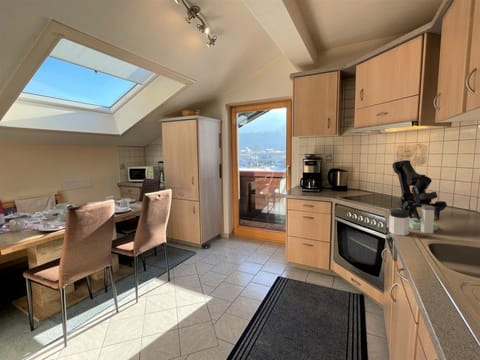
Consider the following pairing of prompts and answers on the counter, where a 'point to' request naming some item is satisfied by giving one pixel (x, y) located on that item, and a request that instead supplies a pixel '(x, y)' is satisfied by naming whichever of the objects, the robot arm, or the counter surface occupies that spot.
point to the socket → (418, 224)
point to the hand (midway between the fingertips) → (428, 219)
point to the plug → (427, 218)
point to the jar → (399, 222)
